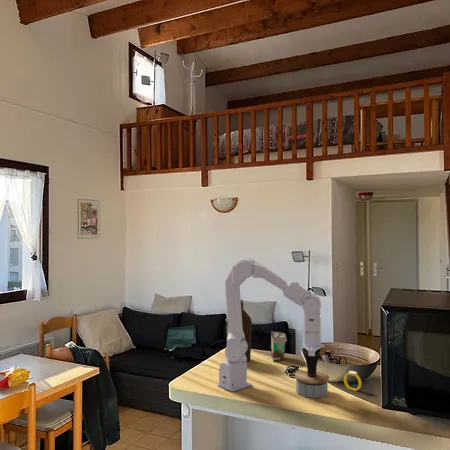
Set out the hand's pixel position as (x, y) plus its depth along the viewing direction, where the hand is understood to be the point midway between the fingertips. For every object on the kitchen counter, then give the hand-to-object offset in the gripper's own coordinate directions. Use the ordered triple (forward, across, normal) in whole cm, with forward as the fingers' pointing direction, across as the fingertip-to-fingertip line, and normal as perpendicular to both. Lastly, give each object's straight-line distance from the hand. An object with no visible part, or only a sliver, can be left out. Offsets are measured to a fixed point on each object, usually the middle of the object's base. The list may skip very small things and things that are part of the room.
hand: (311, 371), depth 143 cm
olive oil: (+7, +30, +30) cm, 43 cm away
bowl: (+7, 0, 0) cm, 7 cm away
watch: (+7, +6, -14) cm, 16 cm away
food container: (+7, +36, +14) cm, 39 cm away
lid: (+2, 0, 0) cm, 2 cm away
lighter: (+7, +15, -7) cm, 18 cm away
